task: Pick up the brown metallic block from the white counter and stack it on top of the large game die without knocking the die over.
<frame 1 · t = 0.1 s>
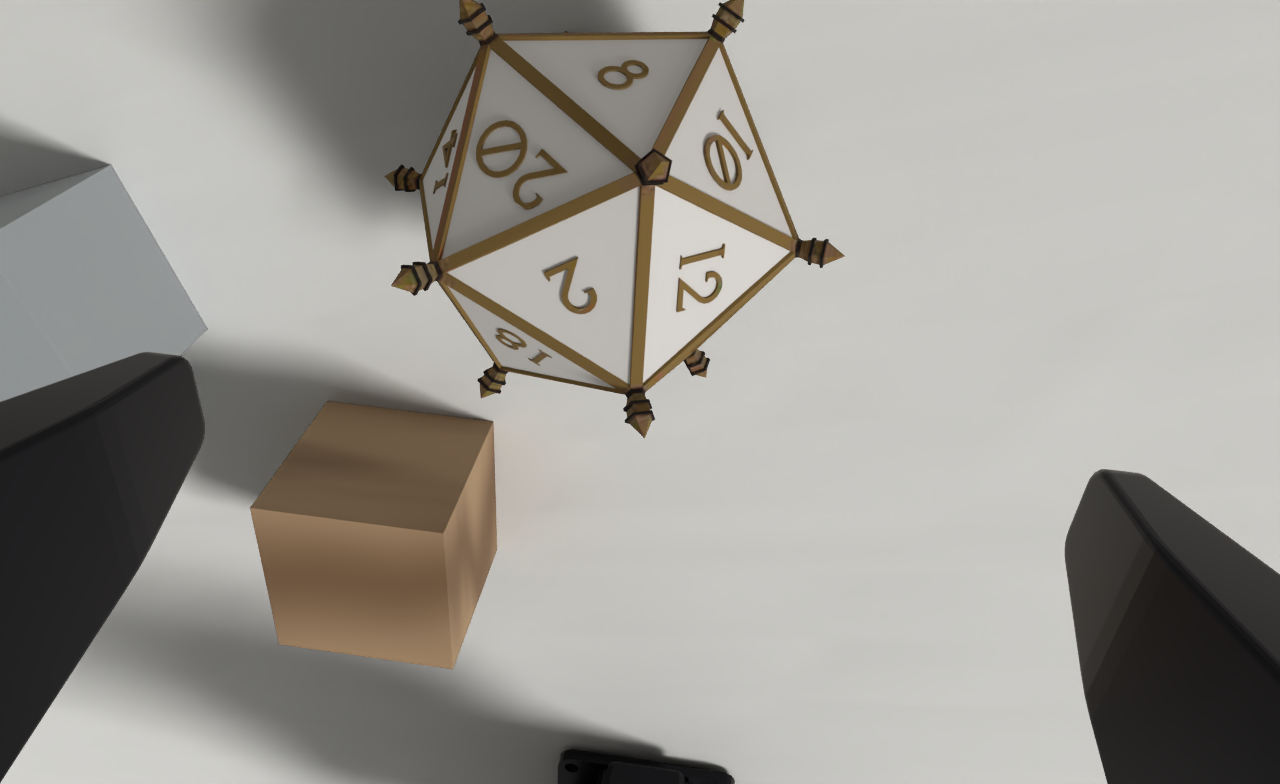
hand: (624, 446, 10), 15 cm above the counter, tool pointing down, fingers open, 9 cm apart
game die: (628, 147, 23), on the counter
grey block: (89, 268, 27), on the counter
brown metallic block: (416, 476, 30), on the counter
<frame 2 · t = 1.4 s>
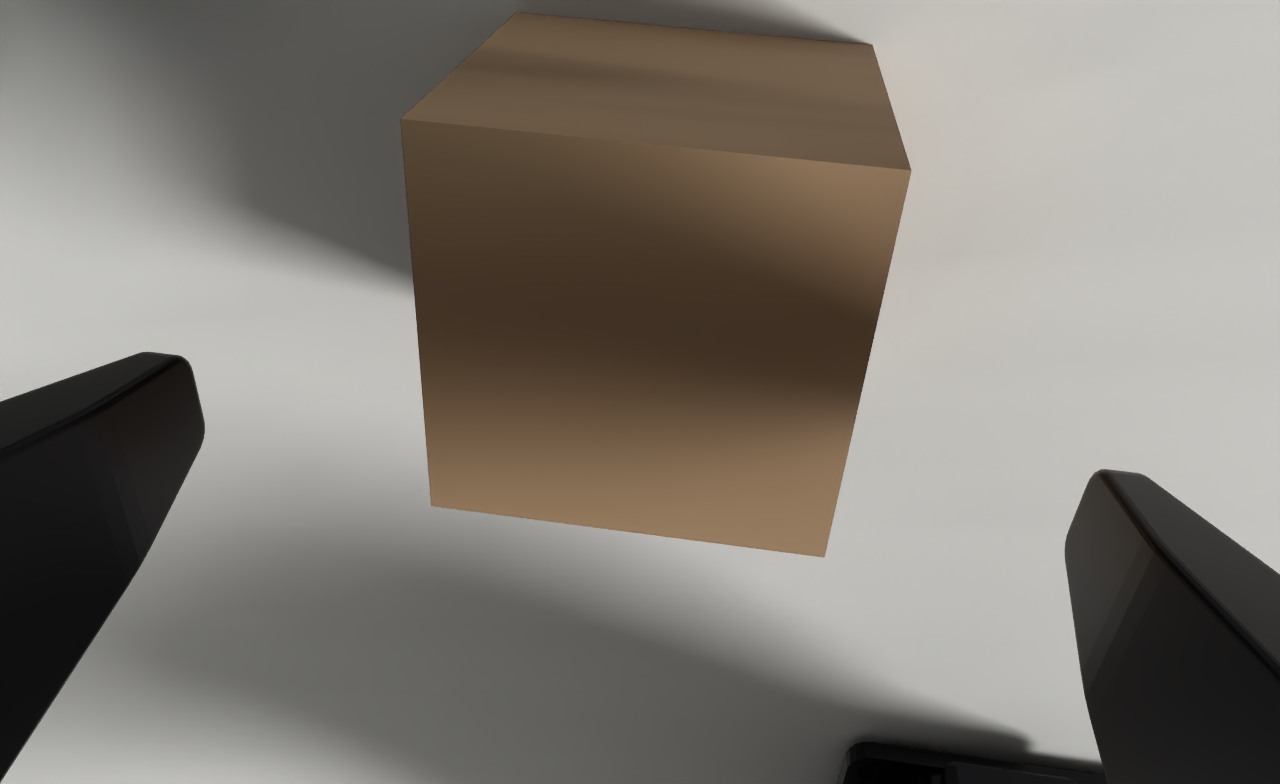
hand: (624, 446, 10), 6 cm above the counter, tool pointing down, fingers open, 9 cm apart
brown metallic block: (678, 195, 15), on the counter
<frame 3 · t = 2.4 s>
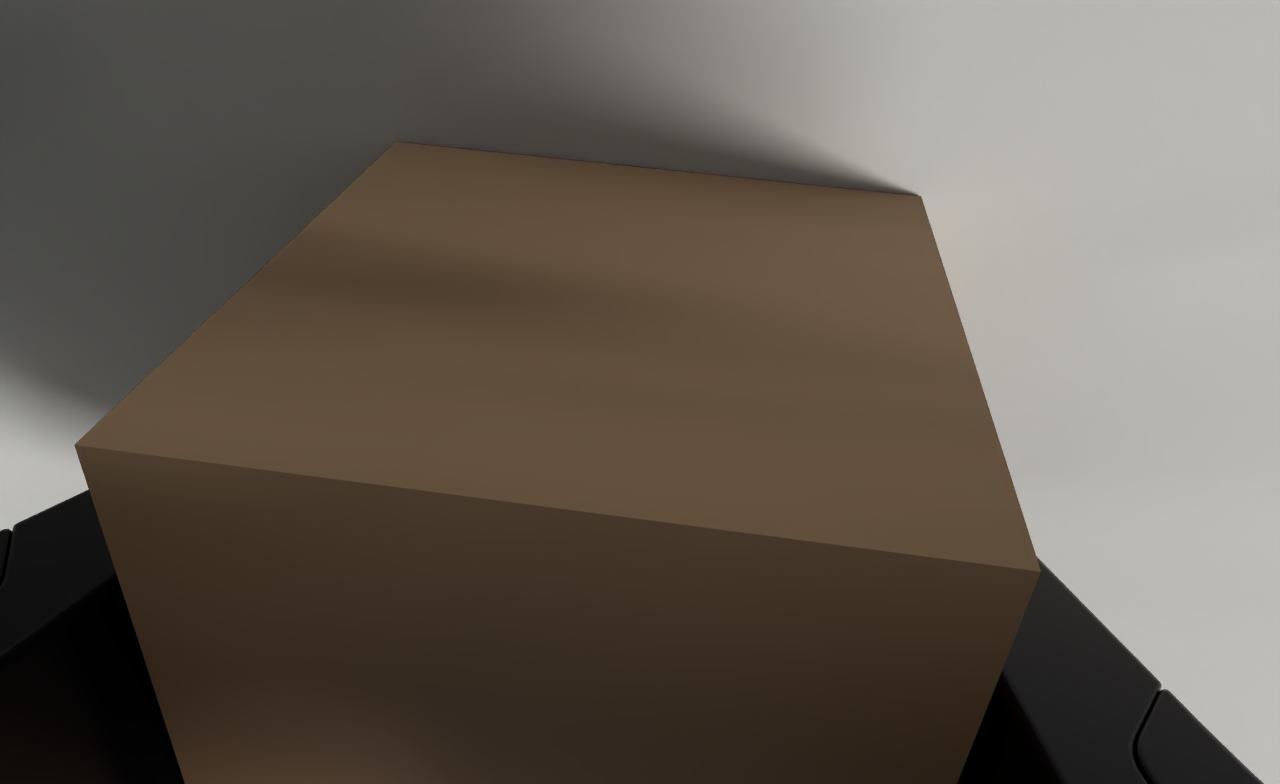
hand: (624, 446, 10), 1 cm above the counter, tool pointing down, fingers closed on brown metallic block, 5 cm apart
brown metallic block: (637, 389, 10), on the counter, touching gripper
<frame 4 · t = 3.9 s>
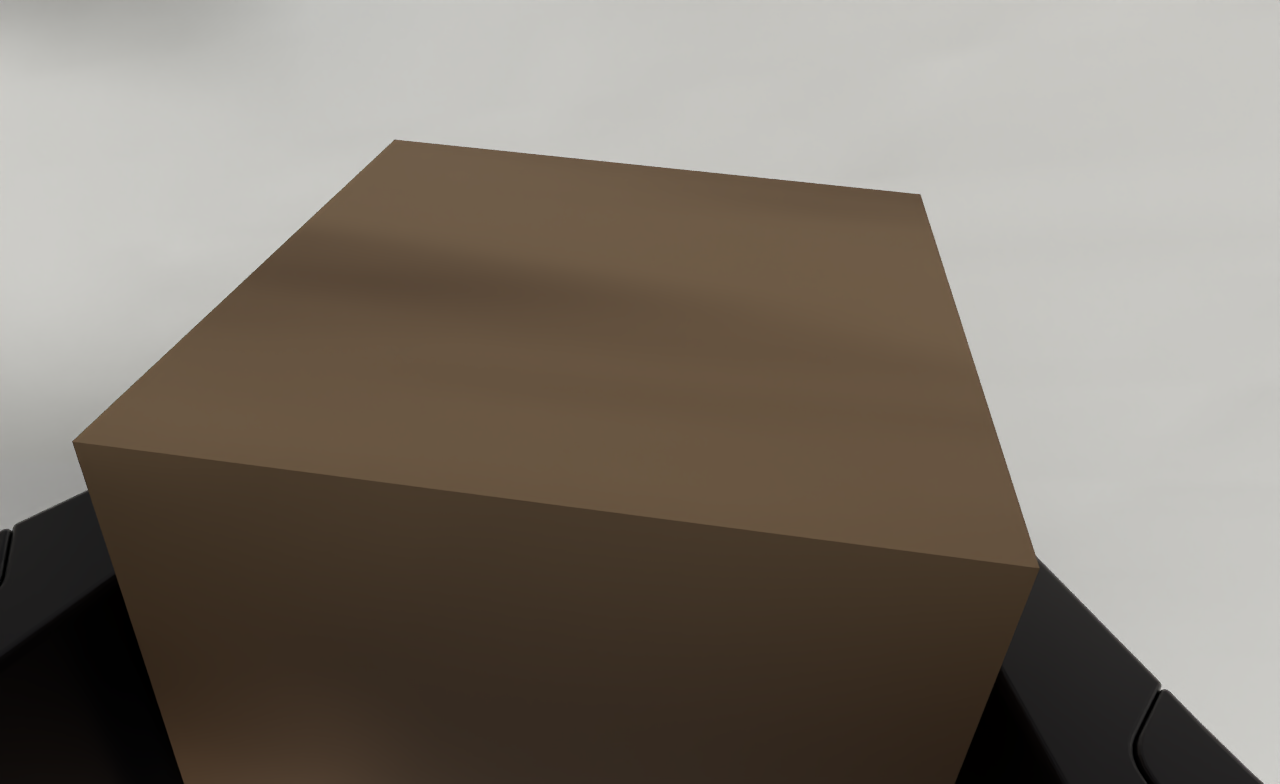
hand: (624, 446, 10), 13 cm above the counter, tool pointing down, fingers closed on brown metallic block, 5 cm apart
brown metallic block: (636, 388, 10), point 12 cm above the counter, touching gripper
when the fingers open (10 cm above the counter, at t = 5.5 s): brown metallic block drops 2 cm, resting on game die.
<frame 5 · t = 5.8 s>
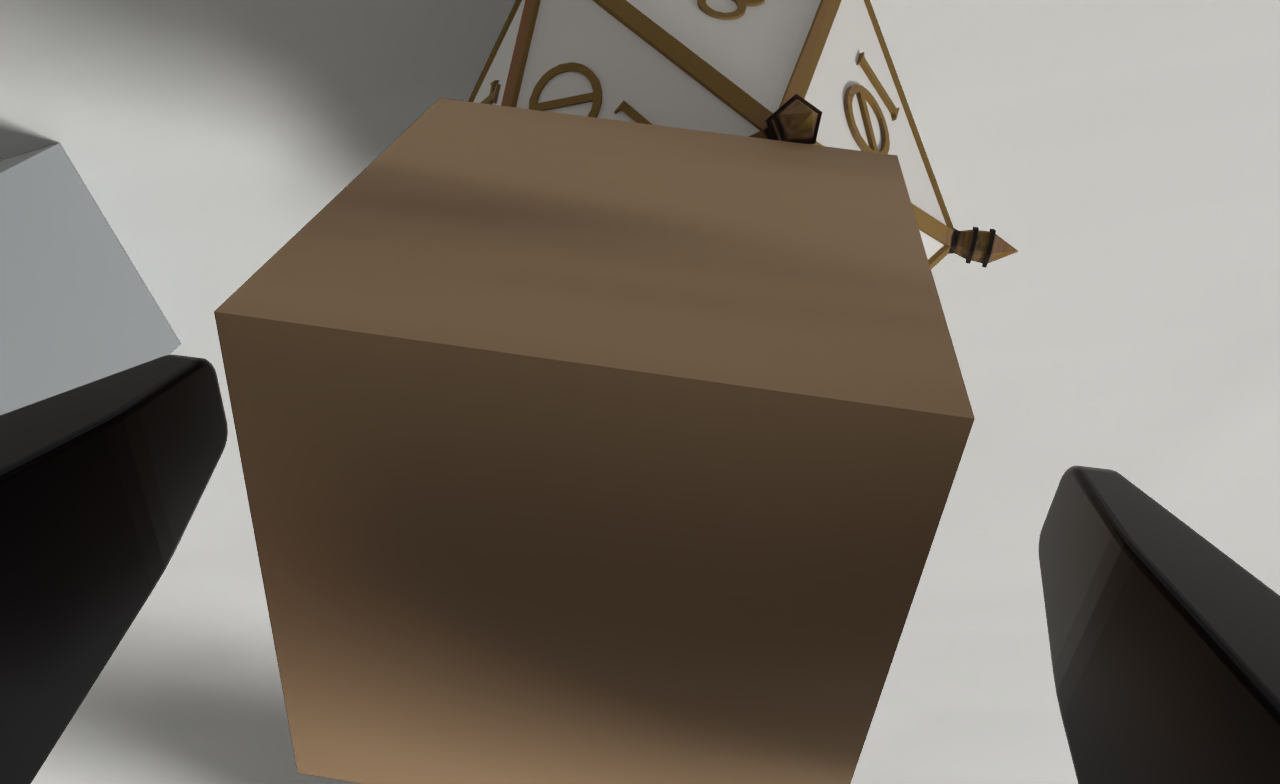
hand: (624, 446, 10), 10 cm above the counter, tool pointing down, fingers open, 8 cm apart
game die: (703, 115, 18), on the counter, touching brown metallic block
grey block: (38, 269, 22), on the counter
brown metallic block: (644, 326, 12), point 8 cm above the counter, touching game die
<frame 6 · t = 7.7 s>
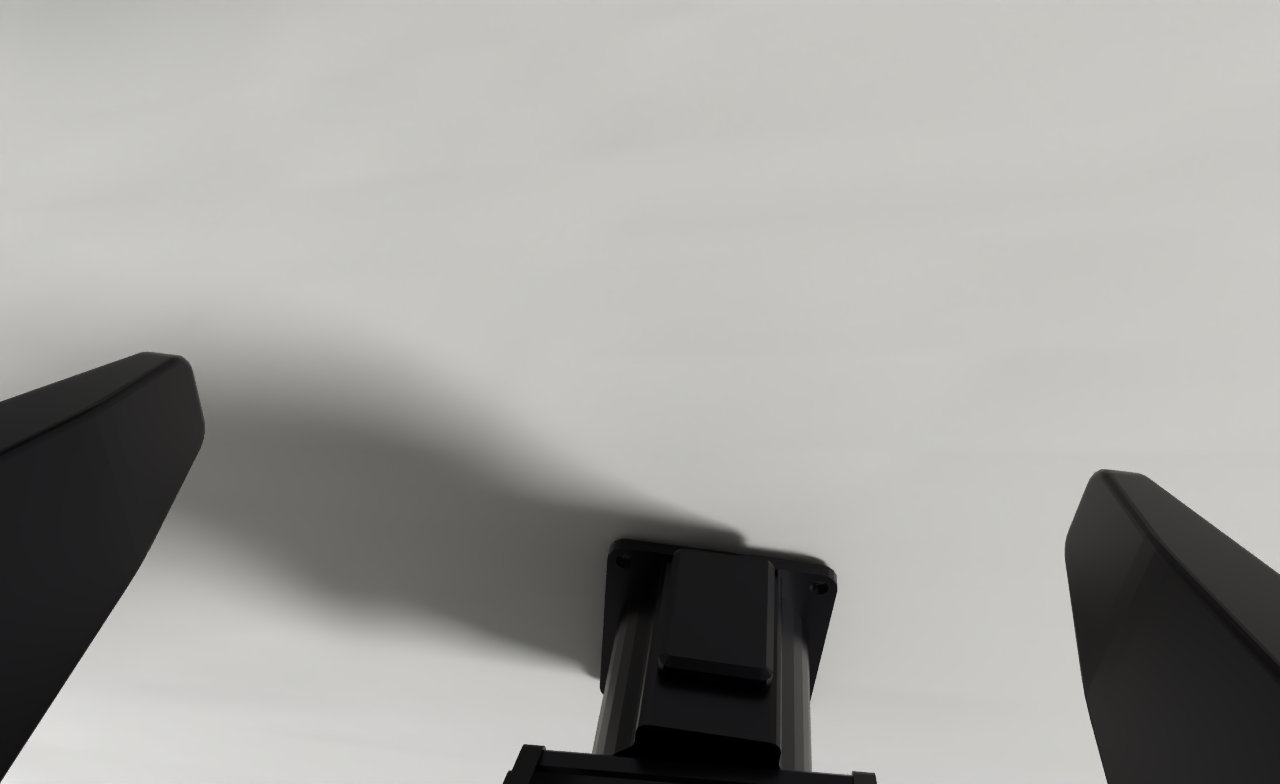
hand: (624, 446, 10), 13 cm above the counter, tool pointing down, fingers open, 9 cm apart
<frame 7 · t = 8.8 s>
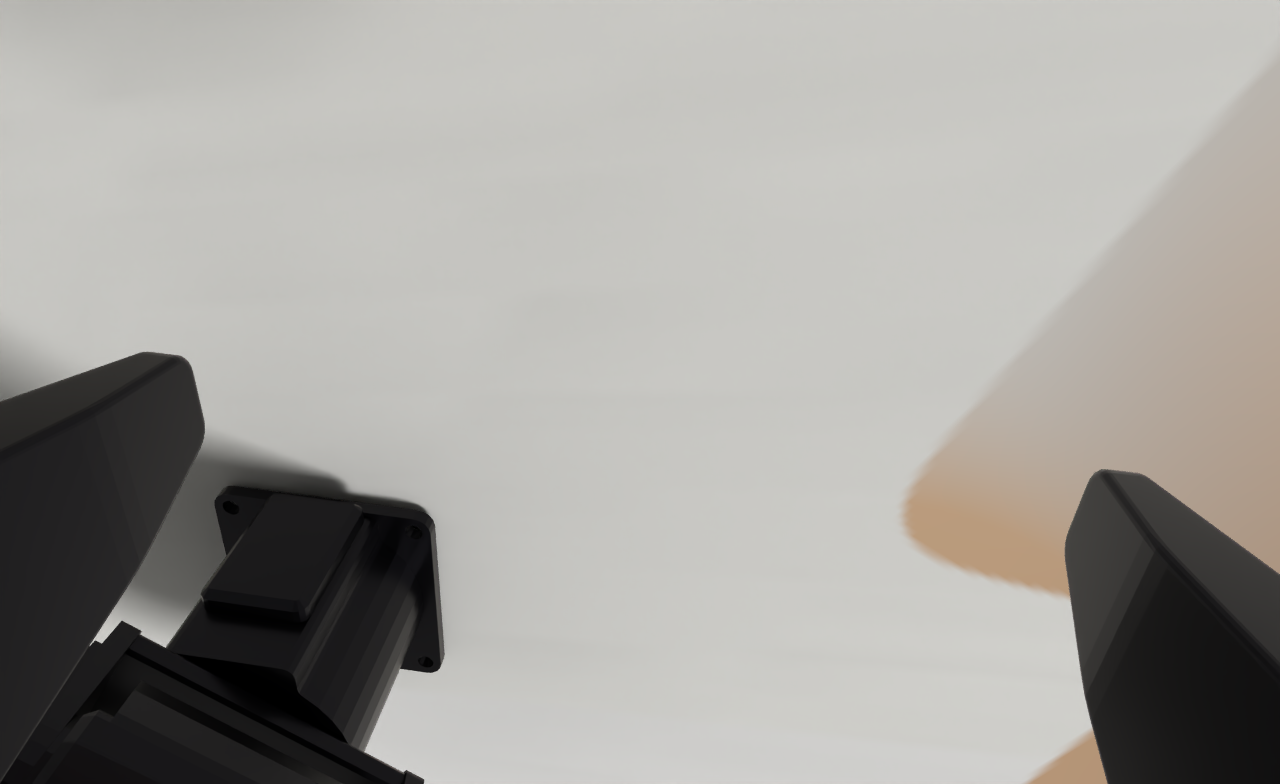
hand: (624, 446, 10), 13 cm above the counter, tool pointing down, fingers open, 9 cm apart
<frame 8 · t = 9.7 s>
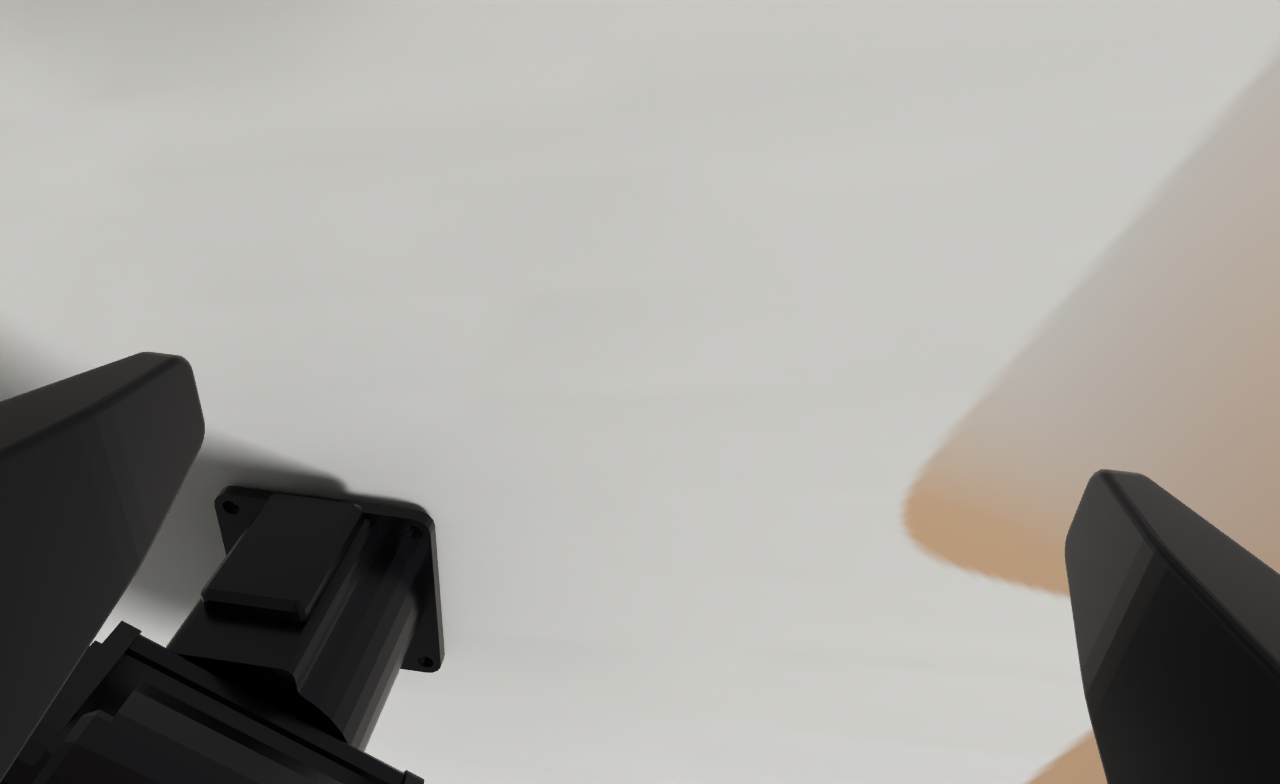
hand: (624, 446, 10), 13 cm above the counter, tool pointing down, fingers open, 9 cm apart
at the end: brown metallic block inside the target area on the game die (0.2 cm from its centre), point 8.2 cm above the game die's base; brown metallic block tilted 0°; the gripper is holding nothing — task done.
